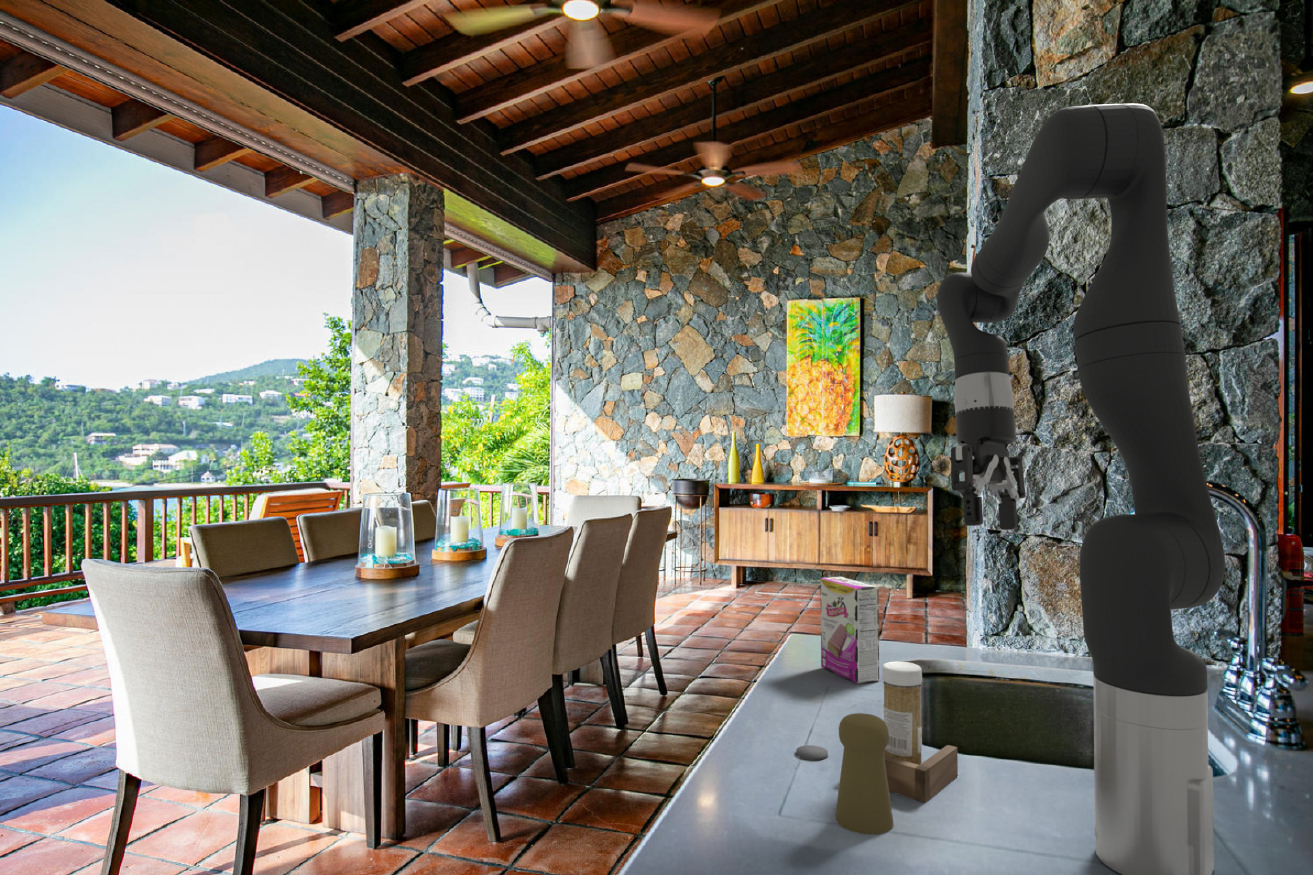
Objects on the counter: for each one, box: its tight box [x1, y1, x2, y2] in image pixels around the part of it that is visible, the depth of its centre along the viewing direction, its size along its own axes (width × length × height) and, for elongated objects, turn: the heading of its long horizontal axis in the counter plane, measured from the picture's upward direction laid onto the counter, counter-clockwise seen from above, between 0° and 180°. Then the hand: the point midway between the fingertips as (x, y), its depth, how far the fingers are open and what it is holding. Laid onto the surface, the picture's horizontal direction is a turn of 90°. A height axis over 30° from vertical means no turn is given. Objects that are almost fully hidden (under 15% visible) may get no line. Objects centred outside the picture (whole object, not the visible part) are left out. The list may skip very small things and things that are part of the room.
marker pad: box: [795, 744, 829, 761], centre depth 101 cm, size 4×4×1 cm
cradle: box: [883, 744, 959, 803], centre depth 94 cm, size 9×9×4 cm
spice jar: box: [881, 661, 923, 765], centre depth 94 cm, size 5×5×13 cm
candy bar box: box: [819, 576, 880, 685], centre depth 137 cm, size 11×5×16 cm, turn 22°
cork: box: [834, 712, 895, 836], centre depth 83 cm, size 6×6×11 cm
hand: (992, 527), depth 104 cm, fingers open, 8 cm apart
